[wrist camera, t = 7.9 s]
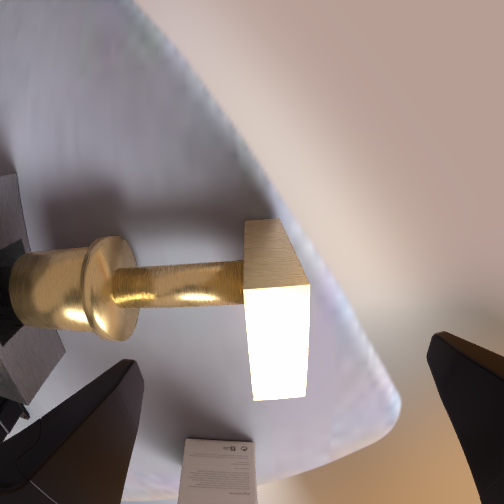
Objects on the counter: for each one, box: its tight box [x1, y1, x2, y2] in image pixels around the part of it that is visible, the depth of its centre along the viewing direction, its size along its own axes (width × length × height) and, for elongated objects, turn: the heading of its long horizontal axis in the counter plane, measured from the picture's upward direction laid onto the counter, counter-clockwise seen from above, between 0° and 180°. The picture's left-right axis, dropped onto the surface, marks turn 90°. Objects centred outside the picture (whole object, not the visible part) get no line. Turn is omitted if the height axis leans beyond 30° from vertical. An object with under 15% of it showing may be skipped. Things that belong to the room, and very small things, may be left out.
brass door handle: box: [9, 218, 310, 400], centre depth 12 cm, size 14×5×8 cm, turn 94°
